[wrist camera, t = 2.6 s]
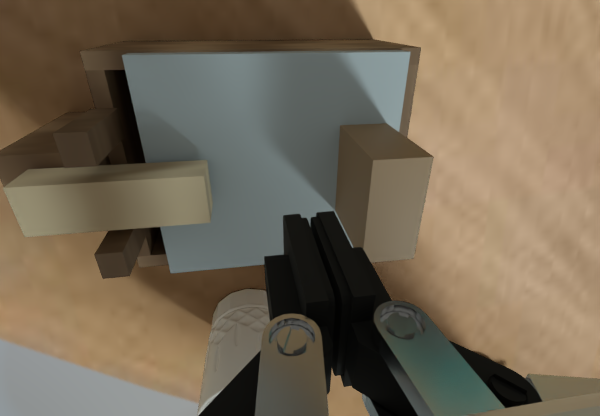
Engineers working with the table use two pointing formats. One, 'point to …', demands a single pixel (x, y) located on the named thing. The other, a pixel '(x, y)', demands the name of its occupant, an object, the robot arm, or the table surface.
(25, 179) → the beige rectangular bar
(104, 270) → the toolbox
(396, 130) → the lid
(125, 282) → the table surface
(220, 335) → the white cup
